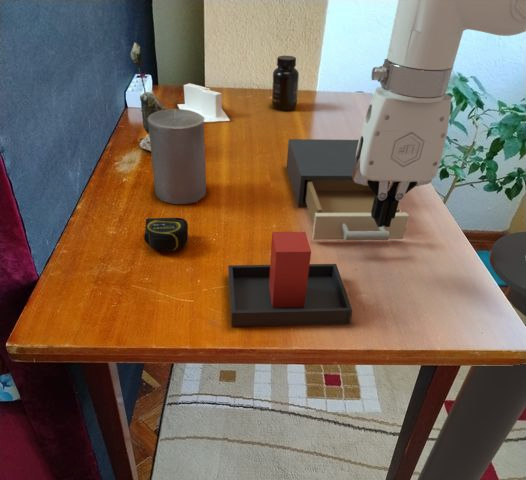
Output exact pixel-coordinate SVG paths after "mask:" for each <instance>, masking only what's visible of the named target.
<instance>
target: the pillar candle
mask: <svg viewBox="0 0 526 480" xmlns="http://www.w3.org/2000/svg"><path fill="white" fill-rule="evenodd" d="M148 127H149V136H150V145H151V151H150V156H151V165H152V176H153V184H154V193H155V196H156V197H157V199H158V200H160V201H161V202H164V203H167V204H171V205H189V204H193V203H197V202H199V201H200V200H202V198H204V197H205V196H206V195H207V176H206V175H207V174H206V173H207V172H206V171H207V169H206V144H205V122H204V117H203V116H202V115H200V114H198V113H196V112H193V111H190V110H183V109H179V108H170V109H166V110H161V111H157V112H154V113H152V114H151V115H149V116H148Z"/></svg>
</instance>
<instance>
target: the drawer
mask: <svg viewBox="0 0 526 480" xmlns="http://www.w3.org/2000/svg"><path fill="white" fill-rule="evenodd" d="M388 190H389V189H388ZM388 190H387V191H388ZM374 197H375V193H374V192H373V191H372V189H371V188H370V187H369V186H367V185H366V186H365V185H361V184H358V183H355V182H354V181H353V180H305V185H304V198H305V201H306V204H307V207H306V208H307V210H308V213H309V217H310V219H311V222H312V225H313V226H312V234H311V237H312V240H314V241H323V240H324V241H326V240H327V241H330V240H333V241H336V240H337V241H338V240H339V241H340V240H343V241H389V240H404V236H405V232H406V230H407V229H406V228H407V225H408V222H409V217H410V215H409V213H408V212H401V208H400V207H399V206H398V207H397V210H396V214H395V218H394V219H392V220H391V224H390V227H385V226H382V227H378V226H377V224H376V222H375V220H374V218H372V216H371V211H372V206H373V202H374Z"/></svg>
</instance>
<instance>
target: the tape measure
mask: <svg viewBox="0 0 526 480" xmlns="http://www.w3.org/2000/svg"><path fill="white" fill-rule="evenodd" d="M188 231H189V223H188V221H187V220H186V219H185V218H181V217H149V218H145V228H144V234H143V238H144V241H145V243H146V244H147V245H148V247H150V248H151V249H152V250H154V251H158V252H172V251H177V250H180V249H182V248H184V247H185V246H186V245H187V244H188V240H189V232H188Z"/></svg>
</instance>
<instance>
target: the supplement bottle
mask: <svg viewBox="0 0 526 480" xmlns="http://www.w3.org/2000/svg"><path fill="white" fill-rule="evenodd" d="M276 66H277V67H276V68H275V69H274V70H273V72H272V87H271V89H272V92H271V93H272V94H271V106H272V108H273V109H274V110H277V111H281V112H289V111H290V112H291V111H293V110H296V108H297V106H298V93H299V81H300V80H299V79H300V73H299V71H298V70H297V69H296V66H297V57H296V56H293V55H279V56H277V58H276Z"/></svg>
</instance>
